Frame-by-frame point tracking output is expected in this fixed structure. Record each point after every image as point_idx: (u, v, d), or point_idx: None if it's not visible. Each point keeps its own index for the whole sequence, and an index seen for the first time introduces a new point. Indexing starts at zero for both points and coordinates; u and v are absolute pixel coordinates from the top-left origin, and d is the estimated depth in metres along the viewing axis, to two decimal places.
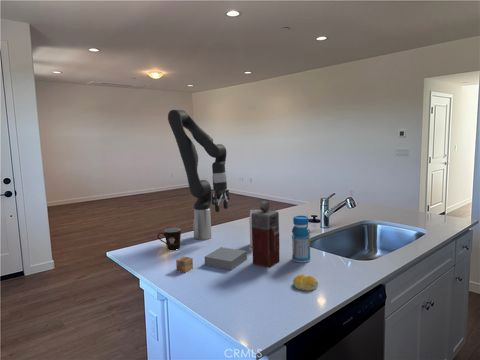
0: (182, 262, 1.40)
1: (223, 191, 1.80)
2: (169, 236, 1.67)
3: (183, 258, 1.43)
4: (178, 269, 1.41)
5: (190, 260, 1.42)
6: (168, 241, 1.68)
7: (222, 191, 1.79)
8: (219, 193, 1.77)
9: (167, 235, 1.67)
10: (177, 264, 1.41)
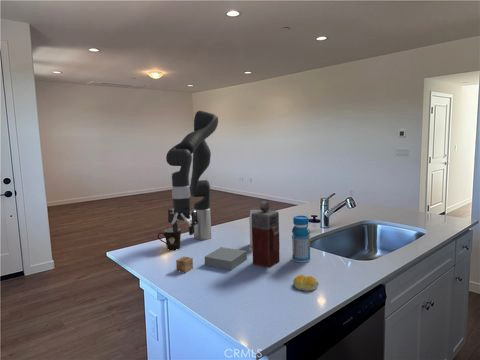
0: (182, 262, 1.40)
1: None
2: (169, 236, 1.67)
3: (183, 258, 1.43)
4: (178, 269, 1.41)
5: (190, 260, 1.42)
6: (168, 241, 1.68)
7: None
8: None
9: (167, 235, 1.67)
10: (177, 264, 1.41)
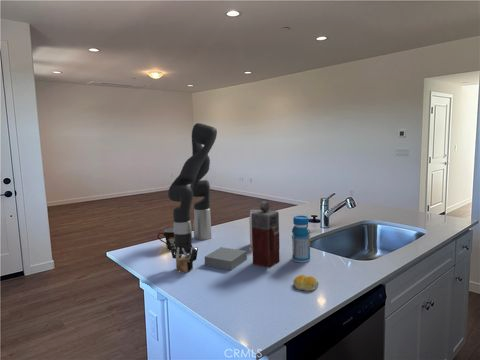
0: (182, 262, 1.40)
1: None
2: (169, 236, 1.67)
3: (183, 258, 1.43)
4: (178, 269, 1.41)
5: None
6: (168, 241, 1.68)
7: None
8: None
9: (167, 235, 1.67)
10: (177, 264, 1.41)
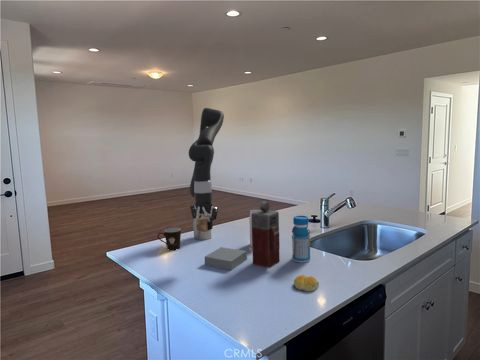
0: (202, 221, 1.42)
1: None
2: (169, 236, 1.67)
3: (203, 218, 1.45)
4: (198, 228, 1.44)
5: None
6: (168, 241, 1.68)
7: None
8: None
9: (167, 235, 1.67)
10: (197, 223, 1.43)
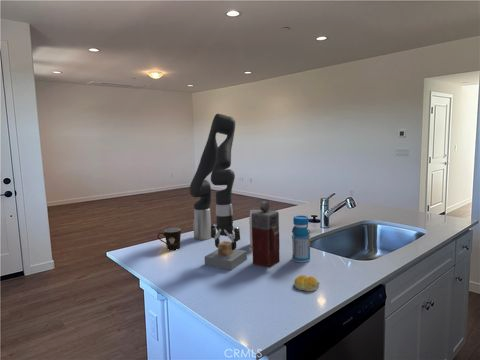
0: (224, 246, 1.46)
1: None
2: (169, 236, 1.67)
3: (224, 242, 1.50)
4: (220, 253, 1.48)
5: (231, 244, 1.49)
6: (168, 241, 1.68)
7: None
8: None
9: (167, 235, 1.67)
10: (219, 248, 1.48)
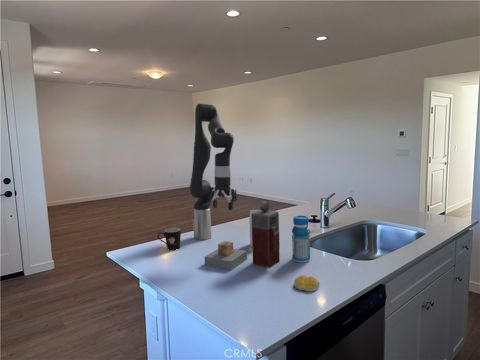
0: (224, 246, 1.46)
1: None
2: (169, 236, 1.67)
3: (224, 242, 1.50)
4: (220, 253, 1.48)
5: (231, 244, 1.49)
6: (168, 241, 1.68)
7: None
8: None
9: (167, 235, 1.67)
10: (219, 248, 1.48)
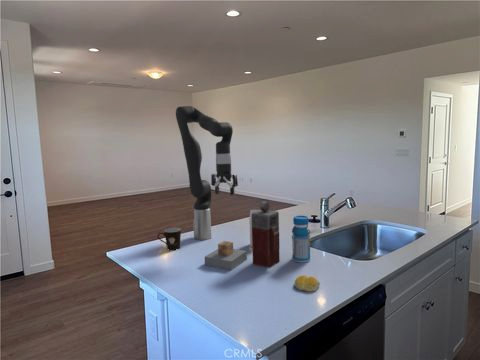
0: (224, 246, 1.46)
1: None
2: (169, 236, 1.67)
3: (224, 242, 1.50)
4: (220, 253, 1.48)
5: (231, 244, 1.49)
6: (168, 241, 1.68)
7: None
8: None
9: (167, 235, 1.67)
10: (219, 248, 1.48)
